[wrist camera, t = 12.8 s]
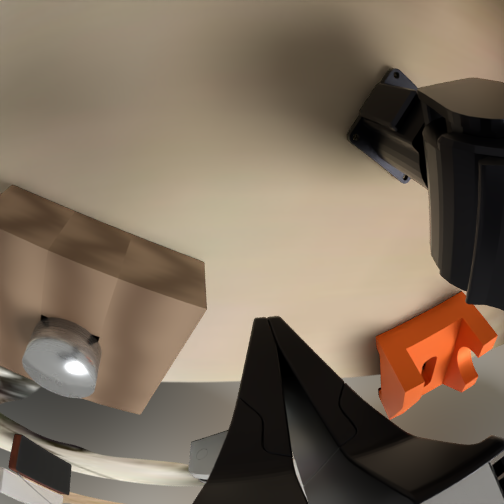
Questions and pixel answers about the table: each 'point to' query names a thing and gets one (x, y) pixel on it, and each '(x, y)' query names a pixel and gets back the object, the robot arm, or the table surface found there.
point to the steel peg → (63, 358)
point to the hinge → (205, 455)
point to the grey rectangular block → (26, 490)
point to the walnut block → (96, 294)
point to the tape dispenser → (431, 353)
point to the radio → (39, 465)
